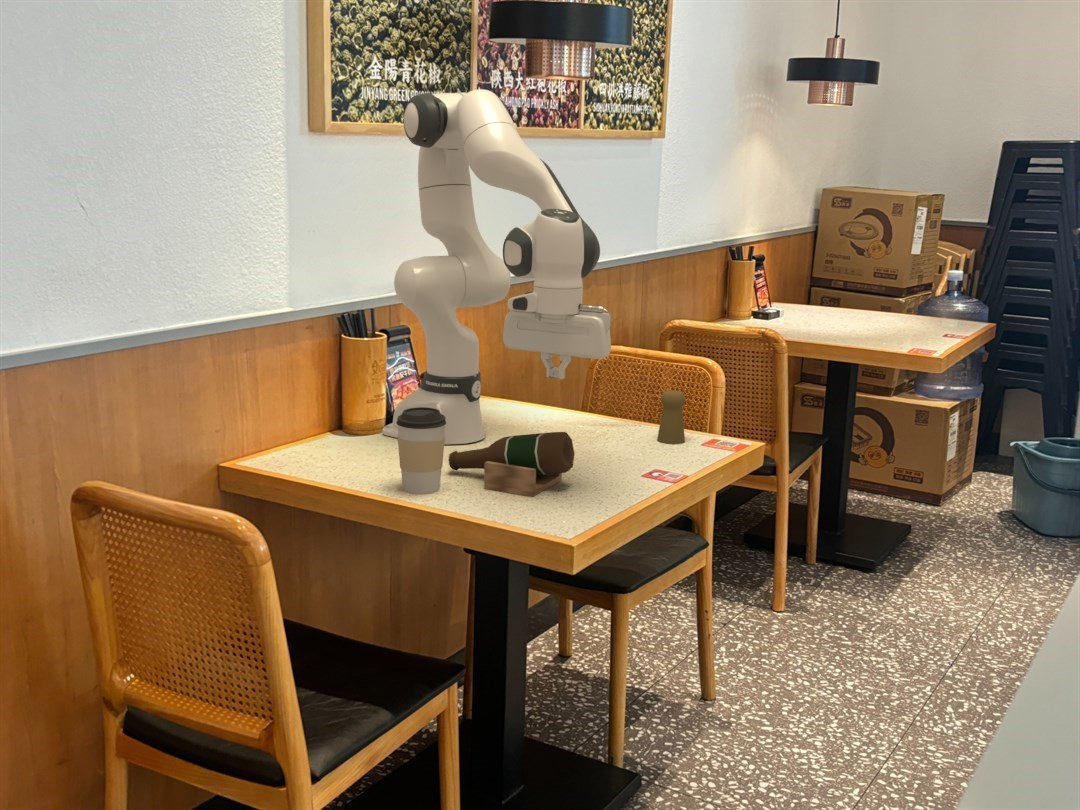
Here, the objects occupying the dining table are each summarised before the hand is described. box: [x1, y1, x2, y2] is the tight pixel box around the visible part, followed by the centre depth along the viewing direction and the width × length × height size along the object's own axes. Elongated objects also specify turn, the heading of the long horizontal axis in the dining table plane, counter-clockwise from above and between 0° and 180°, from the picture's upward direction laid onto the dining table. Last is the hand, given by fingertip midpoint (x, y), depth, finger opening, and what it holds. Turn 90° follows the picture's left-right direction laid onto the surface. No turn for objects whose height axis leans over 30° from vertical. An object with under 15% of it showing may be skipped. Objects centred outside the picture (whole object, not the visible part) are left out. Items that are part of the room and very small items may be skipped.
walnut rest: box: [483, 461, 563, 498], centre depth 215 cm, size 10×12×5 cm
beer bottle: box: [448, 431, 575, 475], centre depth 217 cm, size 8×8×24 cm
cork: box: [656, 389, 686, 445], centre depth 248 cm, size 6×6×11 cm
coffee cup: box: [396, 407, 446, 495], centre depth 210 cm, size 9×9×15 cm
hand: (555, 377), depth 208 cm, fingers closed
